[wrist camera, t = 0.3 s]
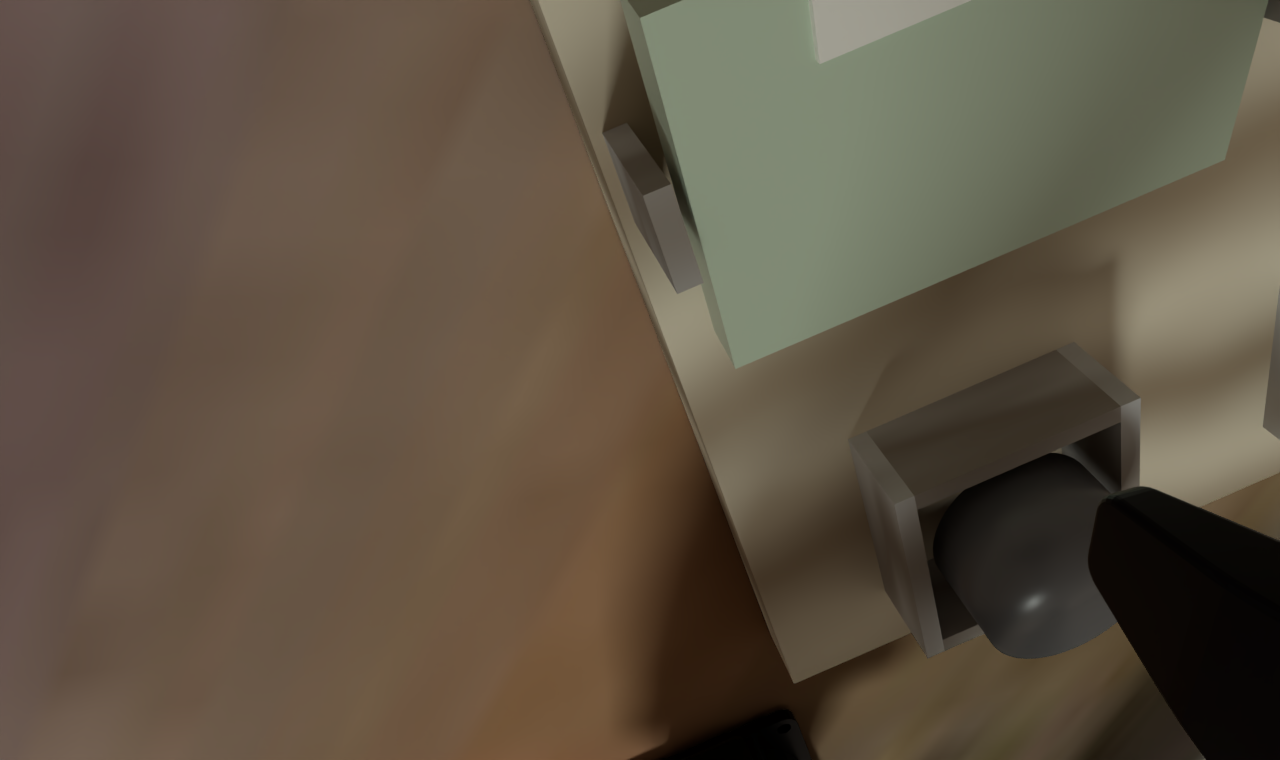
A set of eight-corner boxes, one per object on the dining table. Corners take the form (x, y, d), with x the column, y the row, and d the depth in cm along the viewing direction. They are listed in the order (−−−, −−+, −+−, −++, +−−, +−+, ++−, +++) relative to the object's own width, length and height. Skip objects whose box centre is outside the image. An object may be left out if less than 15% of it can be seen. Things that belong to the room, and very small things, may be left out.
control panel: (1477, 326, 31) (1644, 415, 27) (770, 634, 31) (835, 770, 27) (1756, -657, 17) (2178, -771, 13) (480, -131, 17) (524, -85, 13)
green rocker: (1185, 130, 21) (1230, 163, 20) (714, 330, 20) (738, 374, 20) (1281, -295, 15) (1352, -275, 14) (615, -18, 14) (643, 22, 13)
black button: (1093, 543, 26) (1156, 611, 24) (943, 608, 26) (994, 682, 24) (1090, 426, 23) (1160, 492, 21) (922, 498, 23) (977, 571, 21)
